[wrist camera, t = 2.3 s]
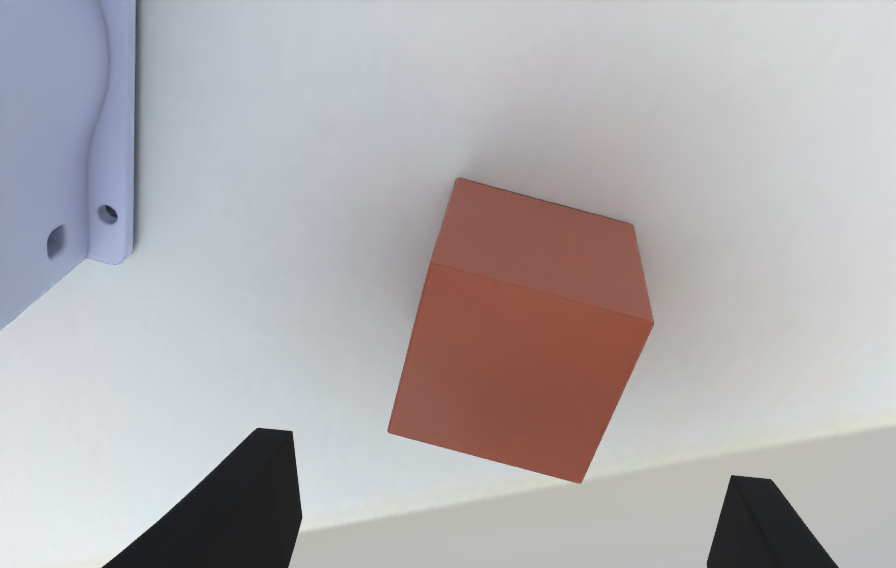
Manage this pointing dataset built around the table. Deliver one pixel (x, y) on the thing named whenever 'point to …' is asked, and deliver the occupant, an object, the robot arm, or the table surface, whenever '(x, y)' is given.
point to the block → (523, 332)
